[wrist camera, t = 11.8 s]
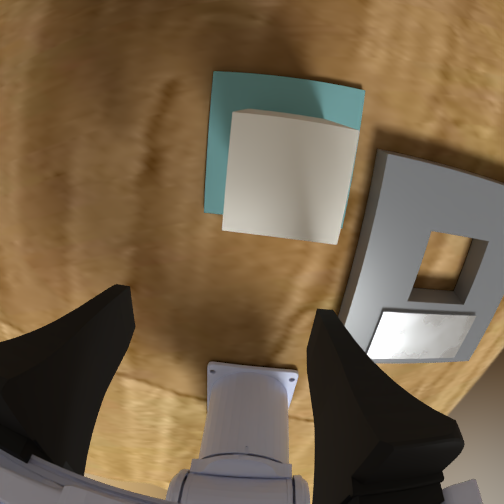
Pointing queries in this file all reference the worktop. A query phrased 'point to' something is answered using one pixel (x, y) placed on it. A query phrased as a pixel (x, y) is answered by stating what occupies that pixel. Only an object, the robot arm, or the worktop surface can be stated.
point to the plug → (288, 175)
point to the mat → (271, 99)
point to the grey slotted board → (410, 257)
